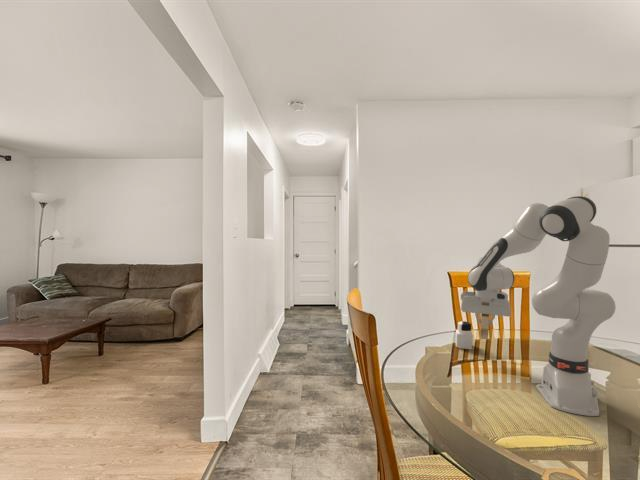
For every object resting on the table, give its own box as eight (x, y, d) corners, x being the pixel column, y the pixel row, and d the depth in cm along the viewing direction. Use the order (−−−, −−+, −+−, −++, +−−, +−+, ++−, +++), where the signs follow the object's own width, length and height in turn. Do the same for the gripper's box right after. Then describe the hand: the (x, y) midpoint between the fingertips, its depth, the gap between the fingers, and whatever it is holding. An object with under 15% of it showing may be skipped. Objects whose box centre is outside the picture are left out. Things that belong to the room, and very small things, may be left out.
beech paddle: (488, 339, 162) (489, 303, 161) (480, 338, 163) (481, 302, 163) (487, 335, 168) (489, 300, 167) (480, 334, 169) (481, 300, 168)
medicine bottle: (470, 344, 184) (471, 321, 182) (472, 349, 177) (473, 325, 176) (455, 343, 185) (456, 319, 184) (456, 348, 179) (457, 324, 178)
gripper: (460, 292, 166) (459, 322, 166) (511, 296, 158) (510, 328, 158) (461, 289, 171) (460, 319, 172) (510, 293, 163) (509, 324, 164)
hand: (484, 323), depth 165 cm, fingers closed on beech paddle, 3 cm apart
